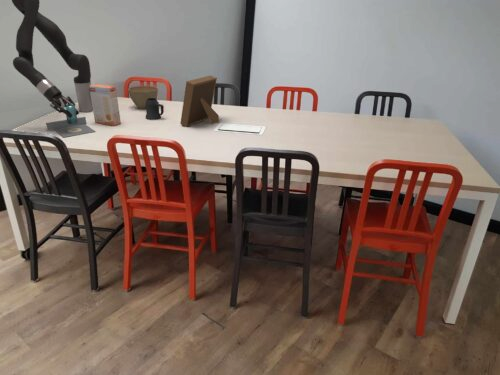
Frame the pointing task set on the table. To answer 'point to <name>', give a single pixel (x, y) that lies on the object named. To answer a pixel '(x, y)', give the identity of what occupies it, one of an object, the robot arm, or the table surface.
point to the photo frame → (199, 101)
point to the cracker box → (105, 104)
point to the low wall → (64, 123)
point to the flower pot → (142, 95)
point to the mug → (153, 109)
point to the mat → (74, 130)
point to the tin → (73, 111)
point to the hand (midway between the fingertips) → (74, 115)
